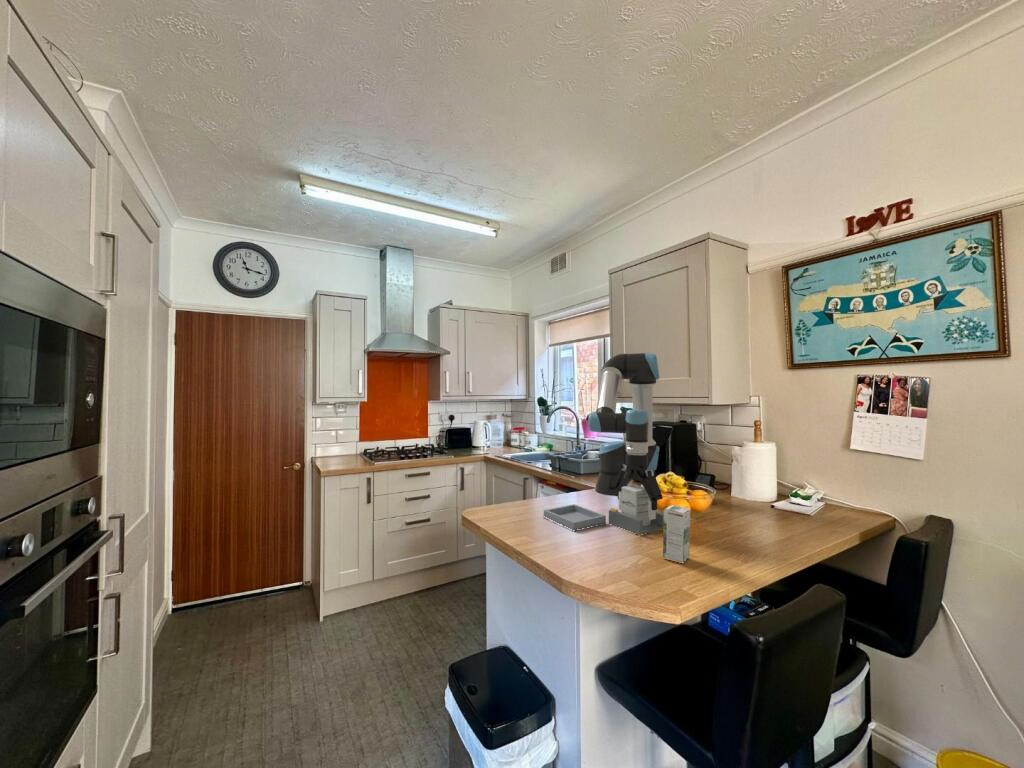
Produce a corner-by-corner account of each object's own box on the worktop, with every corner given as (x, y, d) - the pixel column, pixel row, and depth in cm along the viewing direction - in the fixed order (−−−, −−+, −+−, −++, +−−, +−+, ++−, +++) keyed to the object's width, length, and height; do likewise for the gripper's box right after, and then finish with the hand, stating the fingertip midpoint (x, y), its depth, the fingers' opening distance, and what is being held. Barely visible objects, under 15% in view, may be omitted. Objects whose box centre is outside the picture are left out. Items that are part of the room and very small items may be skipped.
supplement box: (620, 522, 148) (620, 486, 148) (635, 518, 151) (635, 484, 152) (635, 528, 141) (635, 491, 141) (651, 524, 145) (651, 488, 145)
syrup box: (669, 553, 123) (669, 504, 123) (690, 558, 119) (690, 508, 119) (662, 559, 118) (662, 508, 118) (684, 565, 115) (684, 512, 115)
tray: (574, 511, 163) (574, 504, 163) (605, 524, 149) (605, 515, 149) (543, 518, 155) (543, 510, 155) (573, 531, 141) (573, 522, 141)
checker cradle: (633, 518, 156) (633, 502, 156) (665, 528, 144) (665, 512, 144) (608, 523, 149) (608, 507, 149) (639, 535, 137) (639, 518, 137)
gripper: (603, 449, 155) (603, 506, 155) (659, 459, 134) (658, 525, 134) (617, 448, 159) (617, 504, 159) (673, 457, 138) (673, 521, 138)
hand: (636, 514), depth 146 cm, fingers open, 13 cm apart
